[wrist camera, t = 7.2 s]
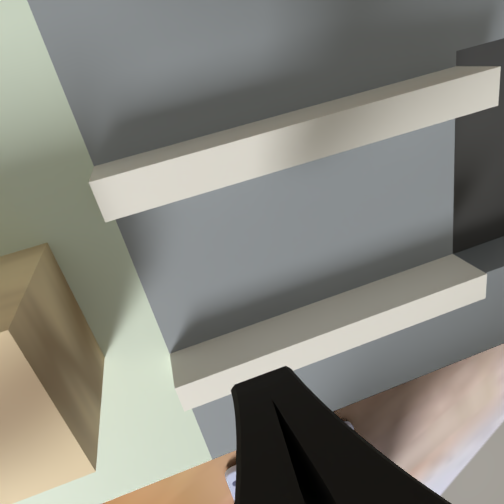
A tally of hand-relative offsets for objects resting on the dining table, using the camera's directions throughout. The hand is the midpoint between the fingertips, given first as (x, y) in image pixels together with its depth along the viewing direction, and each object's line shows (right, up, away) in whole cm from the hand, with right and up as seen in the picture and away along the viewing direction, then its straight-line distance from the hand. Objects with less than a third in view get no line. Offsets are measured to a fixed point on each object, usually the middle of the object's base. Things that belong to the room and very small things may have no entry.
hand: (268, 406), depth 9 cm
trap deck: (+1, +5, +8) cm, 10 cm away
